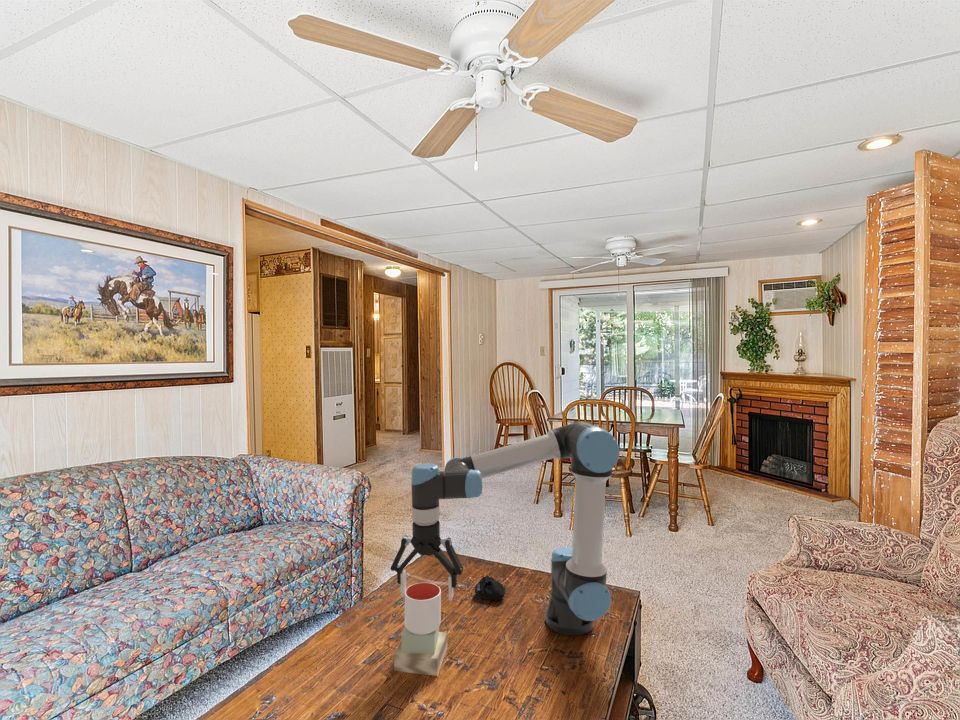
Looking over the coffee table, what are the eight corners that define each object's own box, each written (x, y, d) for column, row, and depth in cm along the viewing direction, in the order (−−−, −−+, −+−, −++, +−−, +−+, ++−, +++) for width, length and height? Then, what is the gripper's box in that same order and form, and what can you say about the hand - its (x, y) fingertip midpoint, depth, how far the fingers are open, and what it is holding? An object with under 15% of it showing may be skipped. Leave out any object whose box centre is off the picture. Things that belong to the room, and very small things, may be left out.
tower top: (438, 634, 139) (439, 617, 139) (434, 654, 131) (434, 635, 130) (408, 633, 140) (408, 616, 140) (401, 652, 131) (401, 634, 131)
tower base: (447, 649, 140) (447, 632, 140) (437, 677, 129) (437, 658, 128) (407, 645, 142) (407, 628, 142) (393, 672, 131) (393, 654, 130)
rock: (487, 608, 173) (512, 601, 170) (473, 604, 166) (499, 596, 163) (483, 581, 179) (507, 574, 176) (470, 576, 172) (495, 568, 169)
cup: (434, 639, 129) (434, 602, 128) (399, 634, 131) (399, 598, 131) (444, 618, 139) (445, 584, 138) (411, 614, 141) (412, 580, 140)
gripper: (472, 518, 136) (473, 592, 136) (387, 514, 140) (389, 586, 140) (467, 527, 128) (468, 606, 129) (378, 523, 132) (379, 600, 133)
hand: (427, 596), depth 135 cm, fingers open, 13 cm apart
